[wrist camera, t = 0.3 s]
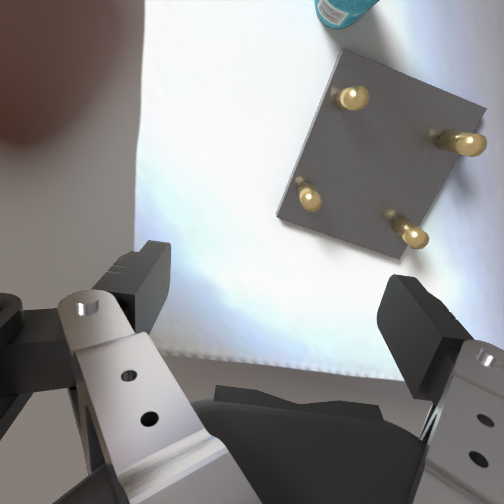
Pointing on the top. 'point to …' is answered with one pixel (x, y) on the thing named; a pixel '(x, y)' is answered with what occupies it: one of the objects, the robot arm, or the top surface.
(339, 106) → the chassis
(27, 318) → the robot arm
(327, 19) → the tube
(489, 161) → the top surface
